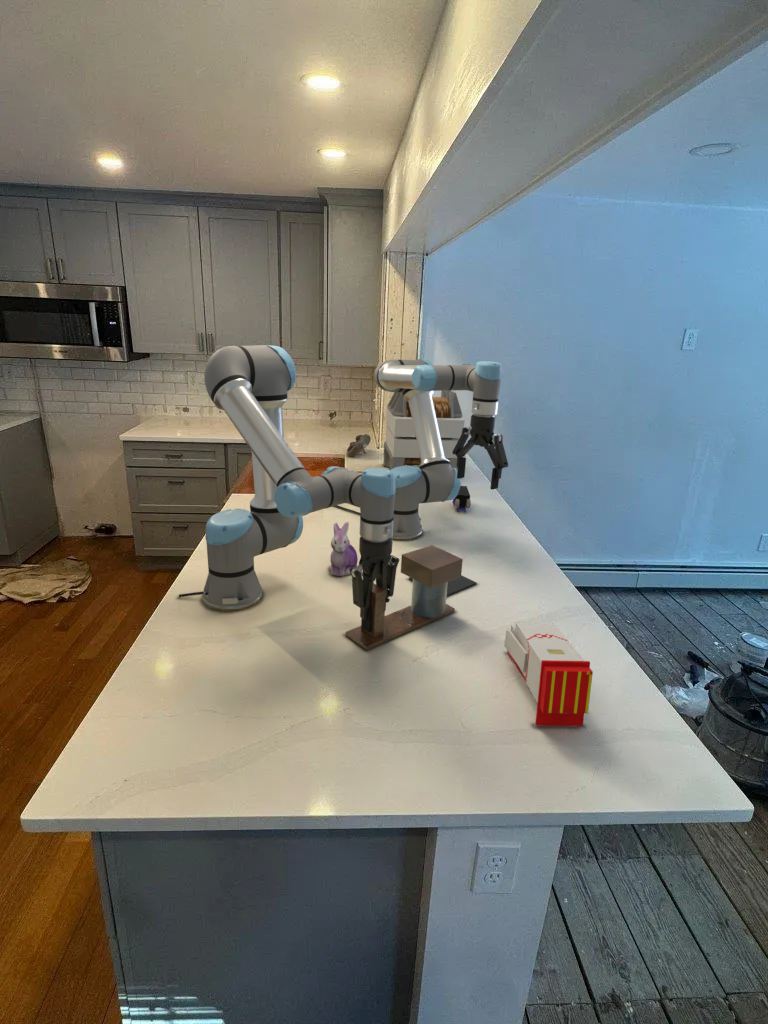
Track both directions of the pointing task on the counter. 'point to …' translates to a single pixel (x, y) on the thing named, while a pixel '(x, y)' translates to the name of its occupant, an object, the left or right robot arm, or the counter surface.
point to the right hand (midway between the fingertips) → (476, 483)
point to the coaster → (457, 585)
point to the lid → (431, 566)
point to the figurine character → (462, 499)
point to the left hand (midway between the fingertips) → (372, 626)
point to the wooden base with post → (401, 614)
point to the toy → (551, 672)
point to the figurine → (342, 552)
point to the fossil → (358, 445)
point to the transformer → (402, 433)
